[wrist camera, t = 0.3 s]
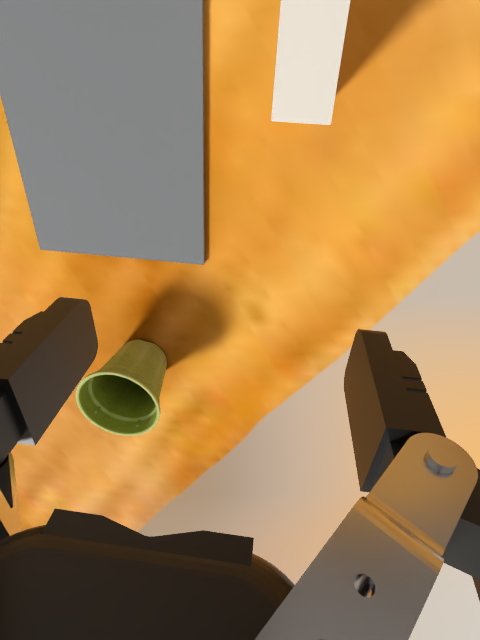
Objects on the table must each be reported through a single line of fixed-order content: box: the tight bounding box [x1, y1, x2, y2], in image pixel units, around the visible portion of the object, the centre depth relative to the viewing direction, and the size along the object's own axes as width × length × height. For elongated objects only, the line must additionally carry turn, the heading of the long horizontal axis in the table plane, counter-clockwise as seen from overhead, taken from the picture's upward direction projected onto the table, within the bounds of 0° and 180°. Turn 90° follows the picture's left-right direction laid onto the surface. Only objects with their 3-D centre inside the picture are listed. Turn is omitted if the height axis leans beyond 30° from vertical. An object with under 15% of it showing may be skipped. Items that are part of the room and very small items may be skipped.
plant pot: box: [76, 339, 167, 436], centre depth 44 cm, size 9×9×9 cm
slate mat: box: [0, 0, 205, 265], centre depth 34 cm, size 22×18×1 cm
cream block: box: [271, 0, 350, 125], centre depth 24 cm, size 9×4×11 cm, turn 177°
